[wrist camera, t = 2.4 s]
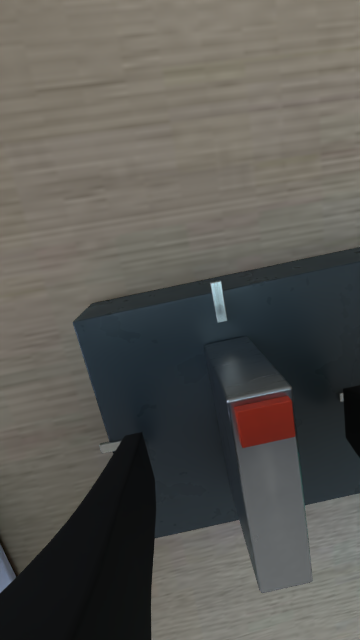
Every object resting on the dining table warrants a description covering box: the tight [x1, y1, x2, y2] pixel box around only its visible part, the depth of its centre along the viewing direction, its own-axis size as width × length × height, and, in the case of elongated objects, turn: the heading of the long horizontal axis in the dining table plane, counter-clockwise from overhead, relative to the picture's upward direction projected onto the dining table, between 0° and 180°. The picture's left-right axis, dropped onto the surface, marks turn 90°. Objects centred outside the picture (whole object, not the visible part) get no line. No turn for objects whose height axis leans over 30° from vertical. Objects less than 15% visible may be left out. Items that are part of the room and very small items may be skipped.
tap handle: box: [204, 336, 313, 593], centre depth 10 cm, size 6×2×4 cm, turn 11°
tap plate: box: [73, 247, 360, 538], centre depth 13 cm, size 14×11×3 cm
